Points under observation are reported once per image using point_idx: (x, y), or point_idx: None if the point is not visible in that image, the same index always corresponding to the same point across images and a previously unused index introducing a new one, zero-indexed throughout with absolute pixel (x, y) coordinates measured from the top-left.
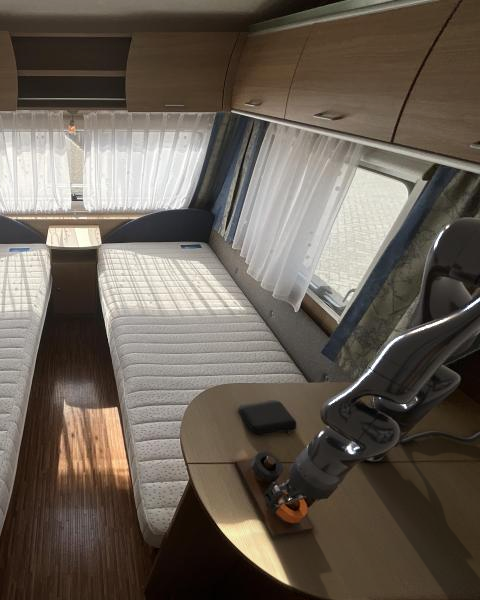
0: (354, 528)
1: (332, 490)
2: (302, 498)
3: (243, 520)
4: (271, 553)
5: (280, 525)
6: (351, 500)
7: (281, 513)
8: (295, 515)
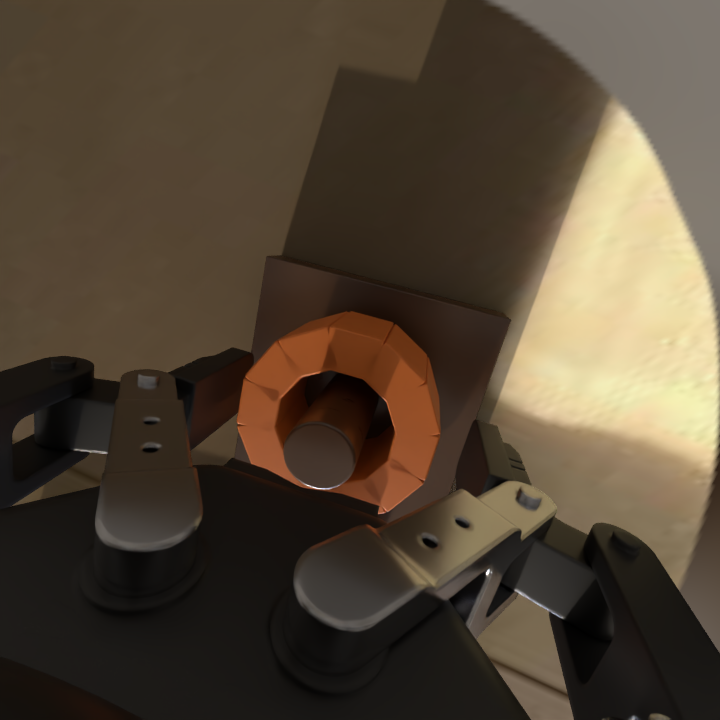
0: (80, 181)
1: None
2: (359, 562)
3: (578, 429)
4: (577, 255)
5: (438, 338)
6: (7, 278)
7: (435, 397)
8: (385, 358)
